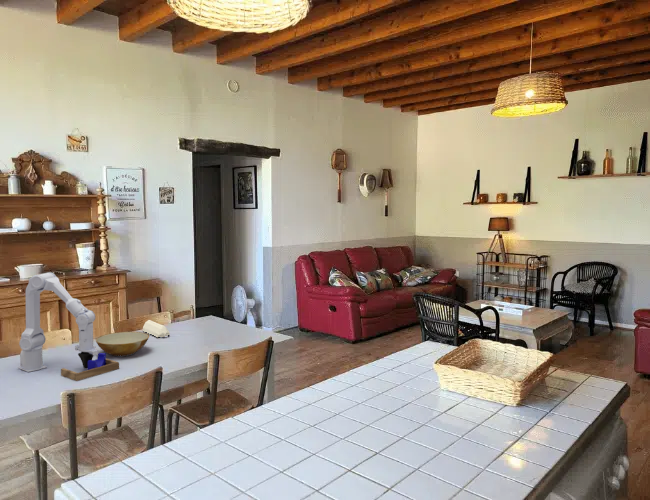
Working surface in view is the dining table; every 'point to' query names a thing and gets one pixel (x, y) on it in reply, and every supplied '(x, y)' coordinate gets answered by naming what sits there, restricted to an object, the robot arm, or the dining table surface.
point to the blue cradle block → (97, 361)
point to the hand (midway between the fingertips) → (86, 368)
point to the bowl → (122, 342)
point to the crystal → (155, 329)
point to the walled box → (90, 371)
